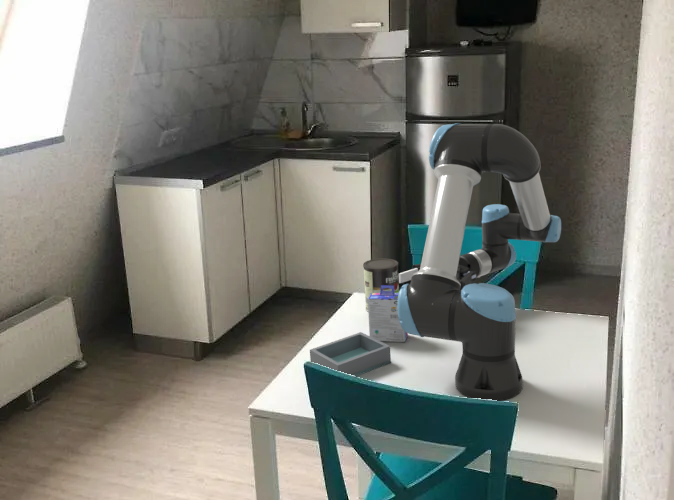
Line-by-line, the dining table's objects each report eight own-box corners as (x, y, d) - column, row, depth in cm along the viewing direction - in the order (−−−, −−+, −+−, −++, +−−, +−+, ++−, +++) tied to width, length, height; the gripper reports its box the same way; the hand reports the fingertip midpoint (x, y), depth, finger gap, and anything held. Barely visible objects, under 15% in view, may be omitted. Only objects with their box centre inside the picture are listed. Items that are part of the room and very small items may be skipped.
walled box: (390, 362, 184) (390, 346, 183) (338, 382, 175) (337, 365, 174) (361, 347, 194) (360, 332, 192) (310, 366, 185) (309, 349, 184)
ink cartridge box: (408, 334, 200) (406, 284, 196) (406, 342, 195) (404, 291, 191) (372, 333, 202) (370, 283, 198) (369, 341, 197) (366, 290, 193)
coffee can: (406, 305, 221) (405, 260, 216) (387, 317, 213) (385, 271, 209) (378, 299, 227) (376, 256, 223) (358, 310, 219) (356, 265, 215)
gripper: (504, 288, 203) (448, 309, 192) (441, 268, 223) (387, 285, 212) (504, 263, 201) (447, 282, 190) (441, 244, 221) (386, 261, 210)
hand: (415, 284), depth 201 cm, fingers open, 13 cm apart
